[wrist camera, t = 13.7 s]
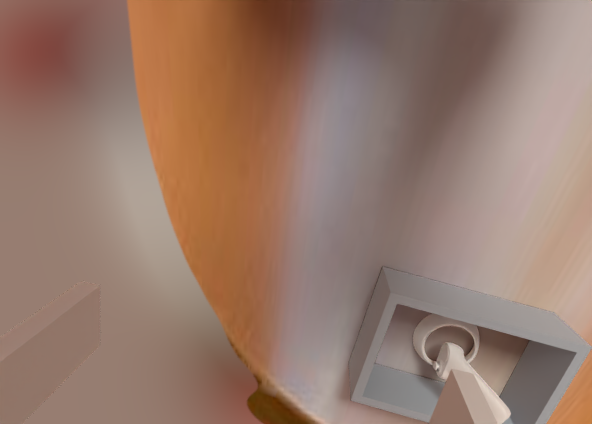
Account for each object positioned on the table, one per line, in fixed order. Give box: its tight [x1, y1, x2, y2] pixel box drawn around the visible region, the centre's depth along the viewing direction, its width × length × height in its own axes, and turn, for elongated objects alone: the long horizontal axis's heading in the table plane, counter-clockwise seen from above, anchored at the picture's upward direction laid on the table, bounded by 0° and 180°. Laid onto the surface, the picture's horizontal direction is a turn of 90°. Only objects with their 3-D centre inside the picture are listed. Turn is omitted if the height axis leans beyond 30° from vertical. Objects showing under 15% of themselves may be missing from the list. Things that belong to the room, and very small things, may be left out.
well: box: [349, 267, 592, 424], centre depth 39 cm, size 14×20×6 cm
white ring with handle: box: [413, 314, 511, 424], centre depth 39 cm, size 8×12×7 cm
